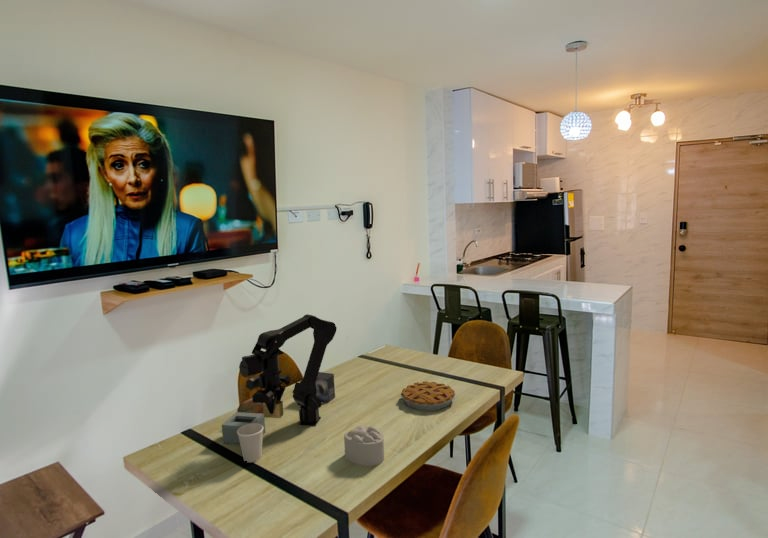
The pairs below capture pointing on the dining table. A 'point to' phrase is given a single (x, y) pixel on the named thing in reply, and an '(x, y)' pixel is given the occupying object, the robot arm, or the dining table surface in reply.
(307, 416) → the robot arm
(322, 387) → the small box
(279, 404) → the tan rectangular block
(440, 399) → the pie
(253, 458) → the dixie cup
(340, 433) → the dining table surface
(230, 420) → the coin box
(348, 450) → the lumpy-topped squat cylinder
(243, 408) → the tin
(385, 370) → the dining table surface
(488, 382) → the dining table surface
